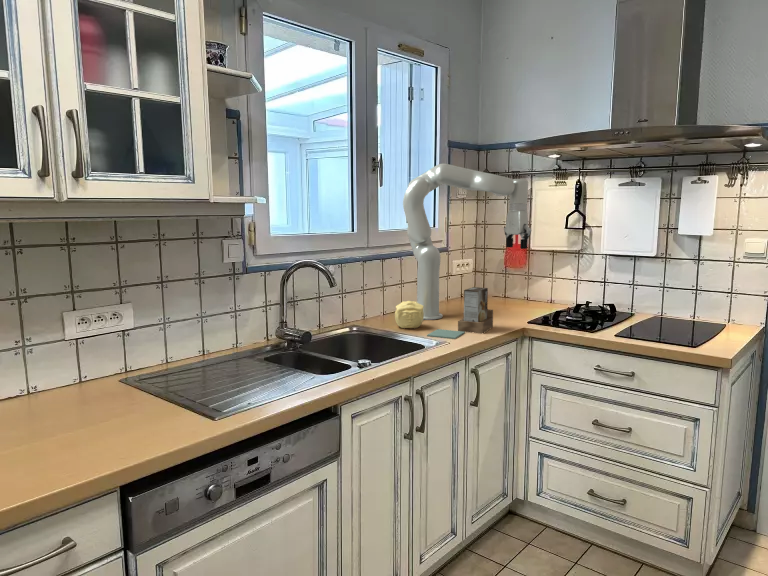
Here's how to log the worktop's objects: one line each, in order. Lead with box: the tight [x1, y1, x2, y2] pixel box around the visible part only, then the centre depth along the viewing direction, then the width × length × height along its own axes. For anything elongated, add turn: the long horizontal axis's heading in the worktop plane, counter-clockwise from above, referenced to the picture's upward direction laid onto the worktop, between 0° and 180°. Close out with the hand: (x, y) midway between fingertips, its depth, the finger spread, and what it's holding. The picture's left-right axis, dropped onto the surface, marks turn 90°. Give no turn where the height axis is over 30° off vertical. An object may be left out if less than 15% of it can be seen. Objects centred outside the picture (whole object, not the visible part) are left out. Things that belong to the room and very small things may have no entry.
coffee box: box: [463, 286, 489, 322], centre depth 219 cm, size 9×6×16 cm
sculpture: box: [394, 300, 424, 329], centre depth 224 cm, size 11×12×11 cm
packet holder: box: [457, 308, 494, 334], centre depth 220 cm, size 10×13×7 cm
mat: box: [426, 328, 466, 340], centre depth 211 cm, size 11×11×1 cm
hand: (516, 247), depth 244 cm, fingers open, 9 cm apart
